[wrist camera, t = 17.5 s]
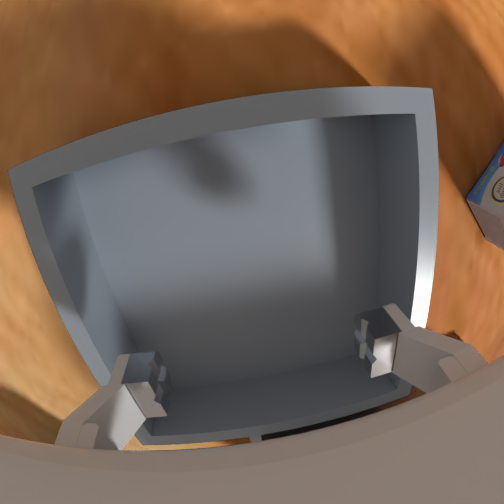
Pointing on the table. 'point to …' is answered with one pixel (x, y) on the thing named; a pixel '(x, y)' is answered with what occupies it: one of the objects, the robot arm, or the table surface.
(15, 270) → the table surface
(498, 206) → the medicine box
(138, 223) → the tray
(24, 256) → the table surface
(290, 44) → the table surface
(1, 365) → the table surface
